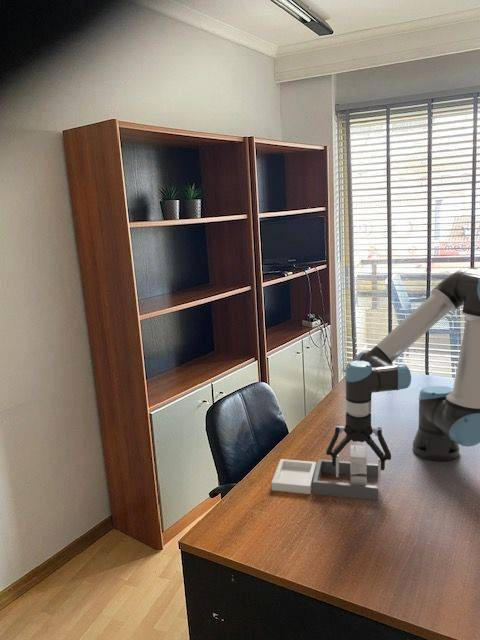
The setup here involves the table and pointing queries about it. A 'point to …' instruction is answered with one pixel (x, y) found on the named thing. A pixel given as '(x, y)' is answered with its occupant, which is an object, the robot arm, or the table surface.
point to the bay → (344, 488)
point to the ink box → (358, 465)
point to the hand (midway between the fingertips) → (358, 476)
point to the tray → (294, 476)
